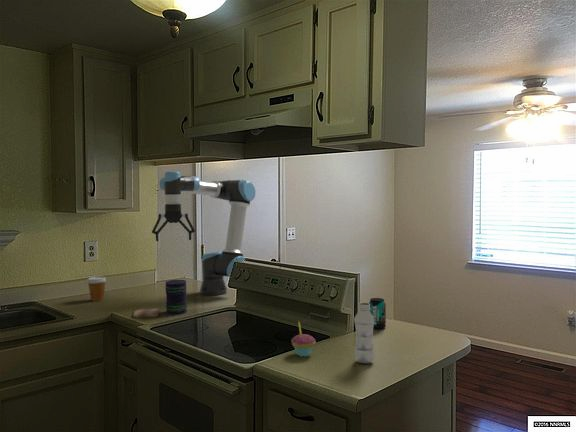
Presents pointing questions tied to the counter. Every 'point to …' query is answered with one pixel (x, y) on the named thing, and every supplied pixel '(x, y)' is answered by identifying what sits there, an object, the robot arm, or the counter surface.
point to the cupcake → (303, 343)
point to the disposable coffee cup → (96, 288)
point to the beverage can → (378, 312)
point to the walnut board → (146, 313)
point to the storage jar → (176, 297)
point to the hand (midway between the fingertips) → (173, 247)
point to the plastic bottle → (364, 334)
